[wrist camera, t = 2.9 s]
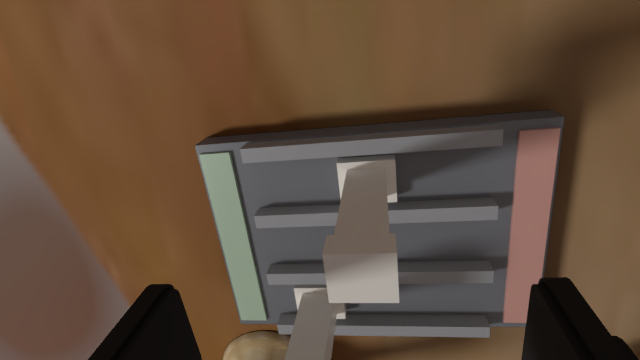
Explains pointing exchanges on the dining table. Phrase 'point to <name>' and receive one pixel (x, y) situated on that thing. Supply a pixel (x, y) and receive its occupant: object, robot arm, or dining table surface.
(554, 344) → the robot arm
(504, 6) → the dining table surface
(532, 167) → the panel
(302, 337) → the handle
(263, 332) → the hand bell
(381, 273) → the handle
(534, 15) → the dining table surface
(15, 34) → the dining table surface
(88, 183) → the dining table surface
